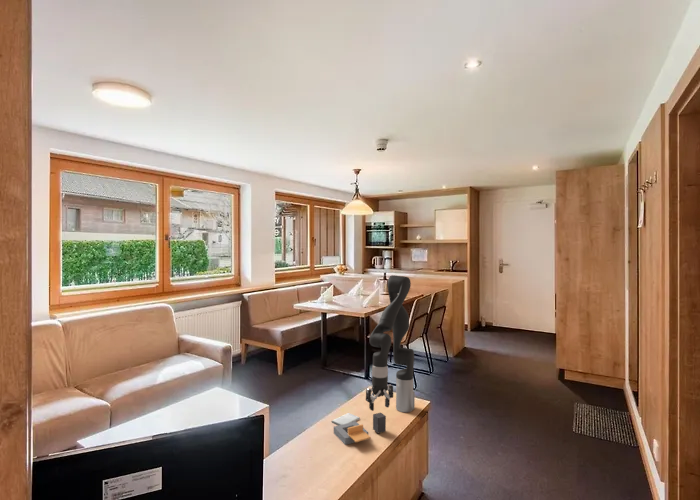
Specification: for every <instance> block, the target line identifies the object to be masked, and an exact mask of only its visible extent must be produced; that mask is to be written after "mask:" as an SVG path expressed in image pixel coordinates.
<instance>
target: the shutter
mask: <svg viewBox="0 0 700 500" xmlns="http://www.w3.org/2000/svg"><path fill="white" fill-rule="evenodd" d="M363 428H364V424H363V423H362V424H359V425H357V426H353V427H349V428H348V435H349V436H350V437H351V438H352V439H353V440H354V441H355V442H354V443H359V442H362V441H366V440H367V441H368V440H370V439H371V436H370V435H369V433H368V434H367V433H366V432H364V431H363Z"/></svg>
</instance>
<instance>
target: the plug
mask: <svg viewBox="0 0 700 500" xmlns="http://www.w3.org/2000/svg"><path fill="white" fill-rule="evenodd" d="M386 417H387V416H386V415H385V414H384V413H383V412H377V413H373V415H372V430H374V431H375V433H377V434H382V433H384V432H386V429H387V427H386V426H387V419H386Z"/></svg>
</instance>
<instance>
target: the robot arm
mask: <svg viewBox="0 0 700 500" xmlns="http://www.w3.org/2000/svg"><path fill="white" fill-rule="evenodd" d="M411 284H412V283H411V279H410V278H409V276H403V275H396V274H395V275H393V274H392V275H390V276H388V279H387V291H388V297H389V305H387V306H386V307H385V308H384V310H383V311H382V312H381V316H380V319H379V321H378V323H377V325H376V326H375V328H374V329H373V331H372V332H371V334H370V335H369V339H368V340H369V344H370V346H371V347H374V348H378V349H379V348H380V351H376V352H374V353H373V355H372V369H371V388H368V387H366V390H365V401H366V402H367V403H369V406H368V407H369V410H370V411H371V412H373V411H374V410H375V407H374V405H375V401H376V400H377V399H378V398H380V397H385V398H384V406H385V408H387V409H388V408H389V407H390V400H391V399H392V398H394V385H392V384H390V383H389V381H388V379H389V376H388V375H389V370H388V369H389V368H388V357H389V353H390V349H391V346H392V340H393V349H392V350H393V353H392V354H393V363H394V364H395V365H399V366H403V367H404V366H405V367H406V368H404V369H400V370H397V371H396V378H395V379H396V381H395V382H396V385H395V386H396V387H395V389H396V390H395V391H396V392H395V398H396V399H395V410H396V411H398V412H401V413H411V412H413V410H415V409H416V408H415V404H416V403H415V402H416V401H415V398H416V397H415V396H416V394H415V391H414V365H415V363H414V362H415V351H414V349H412V348H406V347H401V344H402V343H401V342H402V340H403V339H404V337H405V335H406V334H407V332H408V331H409V329H410V318H409V313H408V311H407V309H406V308H405V307H404V305H403V304H404V302H405V299H406V298H407V296H408V294H409V292H410V289H411ZM390 331H392V337H393V338H392V337H391V335H389V333H386V332H390ZM388 383H389V384H388Z"/></svg>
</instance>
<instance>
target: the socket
mask: <svg viewBox="0 0 700 500" xmlns="http://www.w3.org/2000/svg"><path fill="white" fill-rule="evenodd" d="M357 425H360V424H359V422H357V421H355V422H351V423H347V424H343V425H339V426H338V425H335V426H333V434H334V435H335V436H336V437H337V438H338V439H339V440H340V441H341V443H342V444H344V445H345V446H347V445H350V444H353V443H356V442H355V441H354V440H353V439H352V438H351V437H350V436H349V435H348V428H349V427H353V426H357ZM363 431H364V432H366V433H367V434H368V435H369V431H368V430H367V429H365V428H364V427H363Z"/></svg>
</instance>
